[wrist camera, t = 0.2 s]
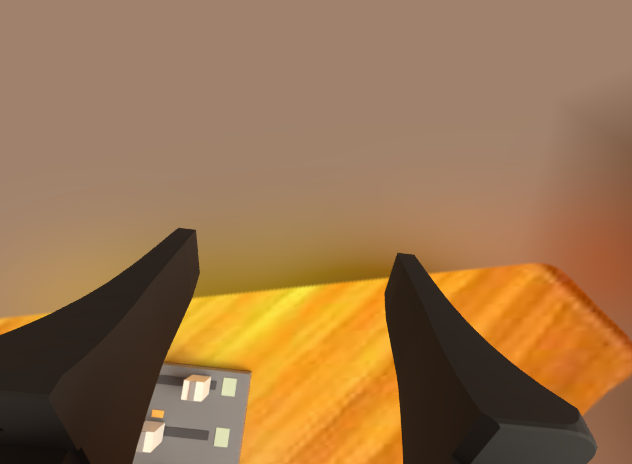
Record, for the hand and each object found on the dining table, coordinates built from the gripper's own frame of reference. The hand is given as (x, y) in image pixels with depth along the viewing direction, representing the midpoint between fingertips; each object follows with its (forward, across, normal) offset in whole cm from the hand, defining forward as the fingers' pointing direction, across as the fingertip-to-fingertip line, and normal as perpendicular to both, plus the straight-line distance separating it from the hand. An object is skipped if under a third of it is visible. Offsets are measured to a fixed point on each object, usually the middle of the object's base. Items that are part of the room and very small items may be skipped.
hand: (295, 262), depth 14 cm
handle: (+12, +9, +29) cm, 33 cm away
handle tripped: (+8, +13, +32) cm, 36 cm away
